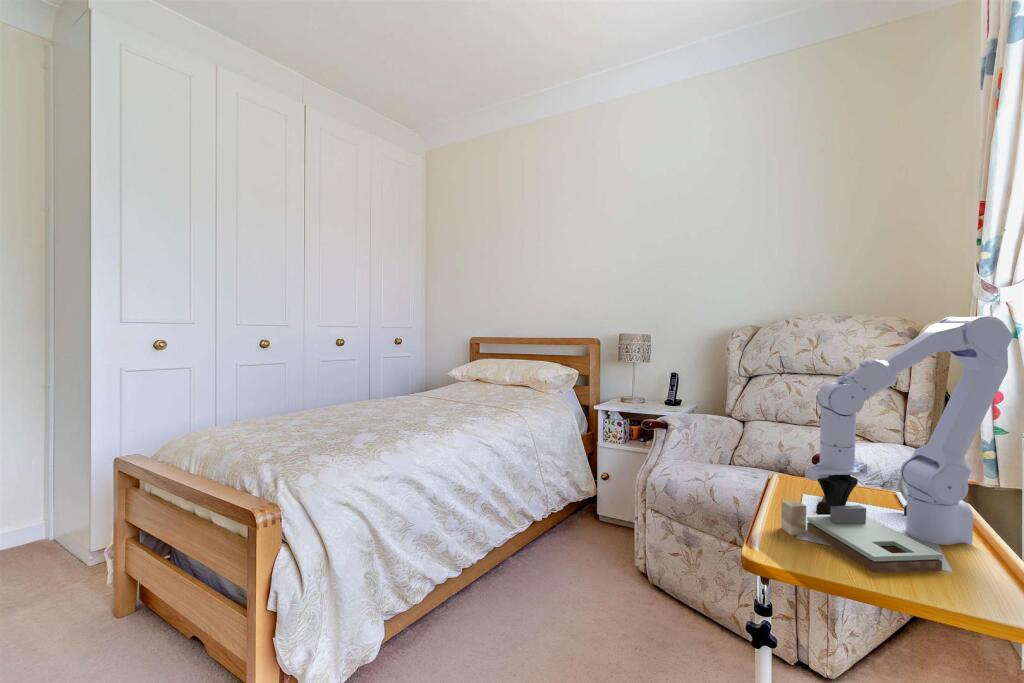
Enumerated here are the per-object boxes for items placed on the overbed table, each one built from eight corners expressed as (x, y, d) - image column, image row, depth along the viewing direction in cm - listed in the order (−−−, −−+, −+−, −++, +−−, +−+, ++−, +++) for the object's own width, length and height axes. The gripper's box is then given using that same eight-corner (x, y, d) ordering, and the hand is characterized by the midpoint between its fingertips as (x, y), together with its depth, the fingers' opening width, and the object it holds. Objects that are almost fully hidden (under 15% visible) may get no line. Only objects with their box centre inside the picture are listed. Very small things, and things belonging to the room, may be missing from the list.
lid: (864, 519, 95) (865, 500, 95) (942, 559, 79) (943, 536, 79) (807, 520, 94) (807, 501, 94) (874, 561, 78) (874, 538, 78)
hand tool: (837, 522, 102) (838, 501, 102) (815, 517, 105) (816, 496, 104) (851, 499, 116) (851, 480, 116) (831, 494, 119) (832, 476, 118)
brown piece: (864, 535, 95) (864, 520, 95) (941, 578, 79) (942, 560, 79) (806, 537, 94) (807, 522, 94) (873, 581, 78) (874, 563, 78)
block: (795, 534, 96) (796, 500, 95) (805, 541, 93) (806, 506, 92) (780, 535, 95) (781, 500, 95) (790, 542, 92) (791, 506, 92)
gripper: (830, 452, 88) (827, 524, 89) (884, 445, 93) (881, 514, 93) (796, 443, 95) (794, 510, 95) (848, 437, 100) (846, 501, 100)
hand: (835, 511), depth 95 cm, fingers closed
